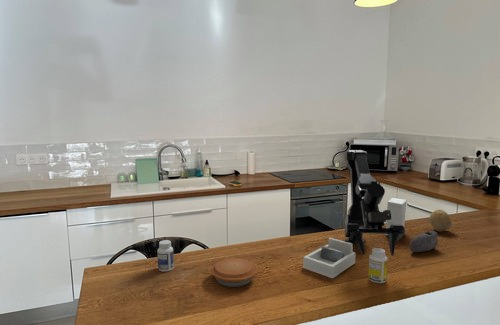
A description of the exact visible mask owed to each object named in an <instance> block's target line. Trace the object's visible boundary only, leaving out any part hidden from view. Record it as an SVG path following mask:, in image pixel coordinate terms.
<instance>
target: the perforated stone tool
mask: <svg viewBox="0 0 500 325" xmlns="http://www.w3.org/2000/svg"><path fill="white" fill-rule="evenodd" d="M438 241H439V240H438V232H437V231H436V230H430V231H425V232H422V233H420V234H418V235H416V236H414V237H413V238H412V239H411V241H410V243H409V250H410V251H411V252H413V253H422V252H423V253H424V252H428V251H429V252H430V251H431V250H433V249H436V247H437V245H438Z"/></svg>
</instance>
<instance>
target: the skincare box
mask: <svg viewBox="0 0 500 325" xmlns="http://www.w3.org/2000/svg"><path fill="white" fill-rule="evenodd" d="M386 210H390V212H391V220H386V222H385V228H390V226H391V224H398V225H403V226H404V227H405V224H406V223H405V221H406V213H407V212H406V210H407V199H405V198H404V199H403V198H397V197H396V198H395V197H391V198H390V199H389V200H388V201H387V207H386ZM384 235H385V236H387V237H388V234H384Z"/></svg>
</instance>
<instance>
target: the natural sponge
mask: <svg viewBox="0 0 500 325" xmlns="http://www.w3.org/2000/svg"><path fill="white" fill-rule="evenodd" d="M428 222H429V224H430V225H431V226H432V228H433V229H434V231H436V232H444V231H447V230H449V229H451V228H452V226H453V223H452V219H451V218H450V215H449V214H448V213H447V212H446V211H445V210H443V209H435V210H434V211H432V213H430V215H429V217H428Z"/></svg>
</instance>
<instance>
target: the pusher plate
mask: <svg viewBox="0 0 500 325" xmlns="http://www.w3.org/2000/svg"><path fill="white" fill-rule="evenodd" d="M321 247H322V248H321ZM321 247H320V248H321V258H324V259H327V260H330V261H333V262H337V261H338V260H340V259H342V258H343V257H344V252H342V251H339V250H336V249H332V248H329V247H326V246H325V245H322V246H321Z"/></svg>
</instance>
